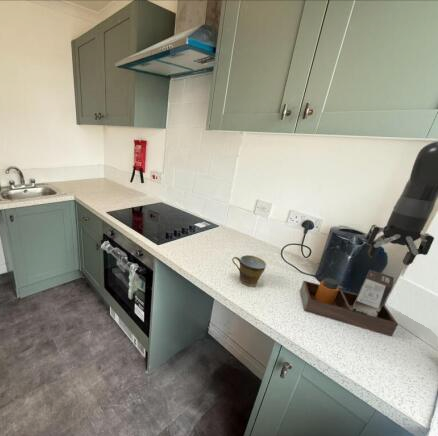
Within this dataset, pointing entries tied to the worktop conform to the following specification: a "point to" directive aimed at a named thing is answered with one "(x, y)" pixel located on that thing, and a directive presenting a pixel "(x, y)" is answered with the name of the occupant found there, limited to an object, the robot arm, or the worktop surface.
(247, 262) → the ceramic cup
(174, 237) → the worktop surface
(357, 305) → the coffee box
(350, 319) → the holder
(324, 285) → the spice bottle
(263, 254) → the worktop surface
